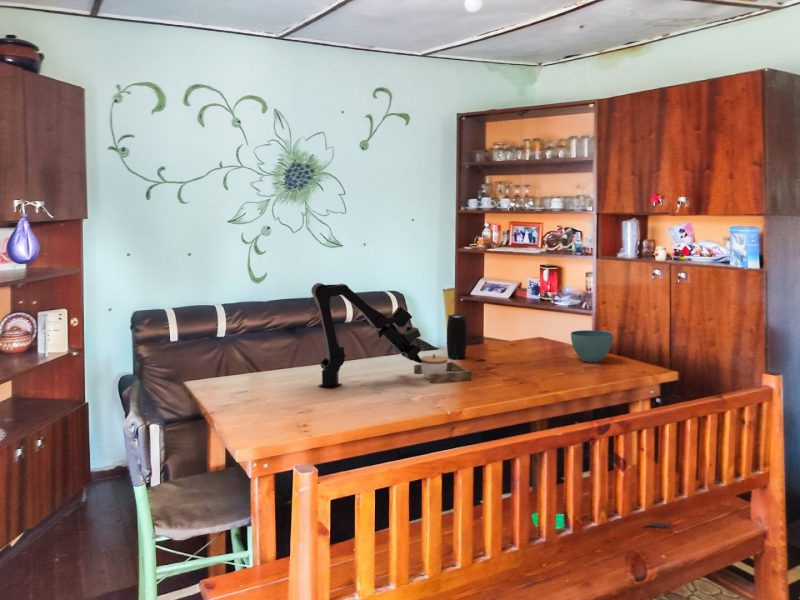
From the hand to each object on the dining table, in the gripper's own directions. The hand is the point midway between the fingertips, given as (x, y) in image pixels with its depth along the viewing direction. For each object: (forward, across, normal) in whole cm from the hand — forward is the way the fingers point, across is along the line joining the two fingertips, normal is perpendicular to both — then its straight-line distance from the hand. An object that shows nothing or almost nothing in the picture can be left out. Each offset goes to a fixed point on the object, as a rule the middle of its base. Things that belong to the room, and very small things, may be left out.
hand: (420, 362), depth 284 cm
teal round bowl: (+64, +6, -54) cm, 84 cm away
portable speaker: (+25, +31, -16) cm, 43 cm away
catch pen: (+11, 0, -2) cm, 11 cm away
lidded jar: (+9, 0, +1) cm, 9 cm away
